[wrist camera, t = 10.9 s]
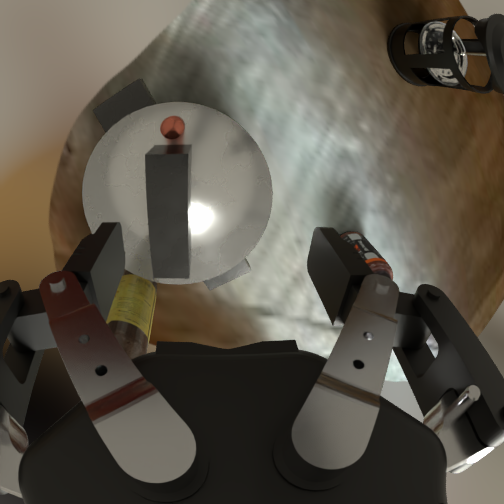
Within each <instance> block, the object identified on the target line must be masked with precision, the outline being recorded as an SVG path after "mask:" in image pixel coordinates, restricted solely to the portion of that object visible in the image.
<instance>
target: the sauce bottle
mask: <svg viewBox="0 0 504 504" xmlns="http://www.w3.org/2000/svg"><path fill="white" fill-rule="evenodd" d="M156 290H157V283H156V282H154V281H151V280H148V279H144V278H142V277H140V276H137V275H135V274H133V273H131V272H129V271H128V270H124V273H123V275H122V278H121V281H120V283H119V286H118V289H117V292H116V294H115V297H114V300H113V303H112V306H111V309H110V312H109V315H108V318H107V321H106V323H107V325H108V326H109V328H110V329H111V331H112V333H113V334H114V336H115V337H116V339H117V340H118V342H119V343H120V345H121V346H122V348H123V349H124V351H125V352H126V354H127V355H128V356H129V358H130V359H131V360H132V359H134V358H136V357H138V356H141V355H144V354H146V352H147V348H148V345H149V338H150V332H151V325H152V319H153V313H154V307H155V301H156Z"/></svg>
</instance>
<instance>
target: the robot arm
mask: <svg viewBox="0 0 504 504" xmlns="http://www.w3.org/2000/svg"><path fill="white" fill-rule="evenodd" d="M307 269H308V273H309V275H310V277H311V280H312V282H313V284H314V286H315V288H316V290H317V292H318V294H319V297H320V299H321V301H322V303H323V305H324V307H325V309H326V312H327V314H328V316H329V318H330V320H331V323H332V325H333V326H338V325H344V326H343V329H342V331H341V333H340V335H339V337H338V339H337V342H336V344H335V346H334V348H333V350H332V352H331V354H330V356H329V358H328V359H326V358H324V357H322V356H319V355H317V354H314V353H311V352H308V351H303V350H298V347H297V344H296V341H295V340H283V341H262V342H258V343H254V344H250V345H246V346H241V347H237V348H233V349H222V348H217V347H212V346H207V345H202V344H197V343H192V342H161V341H157V346H156V352H151V353H148V354H144V355H141V356H138V357H136V358H134V359H132V360H131V359H130V358H129V356H128V355H127V354H126V352H125V351H124V349H123V348H122V346H121V345H120V343H119V342H118V340H117V339H116V337H115V336H114V334H113V333H112V331H111V329H110V328H109V326H108V325H107V323H106V321H107V318H108V315H109V312H110V309H111V306H112V303H113V300H114V297H115V294H116V292H117V289H118V286H119V283H120V281H121V278H122V275H123V273H124V270H125V251H124V243H123V235H122V227H121V224H120V222H102V223H101V225H100V226H99V227H98V229H97V230H96V232H95V233H94V234H90V235H88V236H87V237H85V238H84V239H83V240H82V241H81V242H80V244H79V245H78V246H77V249H75V251H74V252H73V254H72V256H71V257H70V259H69V260H68V262H67V263H66V265H65V266H64V268H63V270H62V271H57V272H54V273H51V274H49V275H47V276H46V277H45V278H44V279H43V280H42V281H41V283H40V285H39V289H35V290H29V291H23V292H22V291H21V288H20V285H19V283H18V282H17V281H14V280H6V281H3V282H0V495H3V494H6V493H11V494H13V495H16V496H19V497H21V498H23V500H24V503H25V504H447V497H446V473H447V472H448V471H449V472H451V473H460V472H462V471H464V470H465V469H467V468H468V467H470V466H471V465H473V464H474V463H476V462H477V461H479V460H480V459H482V458H483V457H484V456H486V455H487V454H488V453H490V452H491V451H492V450H494V449H495V448H496V447H498V446H499V445H500V444H501V443H503V442H504V378H503V377H502V375H501V373H500V372H499V370H498V368H497V367H496V365H495V364H494V362H493V360H492V359H491V358H490V356H489V354H488V353H487V351H486V350H485V348H484V347H483V346H482V344H481V342H480V341H479V339H478V338H477V336H476V335H475V334H474V332H473V331H472V329H471V328H470V327H469V325H468V324H467V322H466V321H465V320H464V318H463V317H462V316H461V314H460V313H459V311H458V310H457V309H456V308H455V306H454V305H453V304H452V302H451V301H450V300H449V298H448V297H447V296H446V295H445V293H444V292H443V291H441V290H440V289H438V288H437V287H435V286H432V285H428V284H422V285H420V286H419V287H418V289H417V291H416V293H415V295H414V294H408V293H403V292H399V288H398V286H397V284H396V283H395V282H394V281H392V280H391V279H389V278H388V277H385V276H383V275H379V274H374V272H373V271H372V270H371V268H370V267H369V266H368V264H367V263H366V262H365V260H364V259H363V258H362V256H361V255H360V254H358V251H357V250H356V249H355V247H354V246H353V245H352V244H350V243H349V242H347V241H346V240H344V239H342V238H341V237H340V235H339V234H338V233H337V232H336V230H335V229H334V228H326V227H316V228H315V230H314V232H313V237H312V241H311V246H310V251H309V255H308V260H307ZM431 333H432V335H433V336H434V338H435V340H436V341H437V343H438V347H439V351H438V355H437V357H436V358H435V357H434V356H433V354H432V352H431V350H430V349H429V347H428V345H427V343H426V341H427V340H428V338H429V336H430V335H431ZM7 337H8V339H9V341H10V345H9V347H8V349H7V352H6V354H5V357H4V359H3V354H2V349H3V345H4V343H5V341H6V338H7ZM55 347H58V349H59V352H60V354H61V357H62V359H63V361H64V364H65V366H66V368H67V371H68V373H69V375H70V377H71V379H72V381H73V384H74V386H75V387H76V390H77V392H78V394H79V396H80V398H81V401H80V402H79V403H78V404H77V405H76V406H74V407H73V408H72V409H71V410H70V411H69V412H67V413H66V414H65V415H64V416H63V417H62V418H61V419H59V420H58V421H57V422H56V423H55V424H54V425H52V426H51V427H50V428H49V429H48V430H47V431H45V432H44V433H43V434H42V435H41V436H40V437H38V439H36V440H35V441H34V442H33V443H32V444H31V445H30V446H29V447H28V437H27V434H26V432H25V430H24V428H23V424H24V419H25V415H26V411H27V407H28V403H29V399H30V395H31V391H32V388H33V385H34V381H35V378H36V374H37V371H38V368H39V365H40V362H41V359H42V356H43V353H44V350H45V349H48V348H55ZM392 349H393V351H394V353H395V355H396V357H397V359H398V361H399V363H400V365H401V367H402V369H403V372H404V374H405V376H406V378H407V380H408V382H409V384H410V387H411V389H412V391H413V393H414V396H415V398H416V400H417V402H418V405H419V407H420V409H421V411H422V414H423V416H424V421H423V423H421V422H420V421H418V420H417V419H415V418H414V417H412V416H411V415H409V414H407V413H406V412H404V411H403V410H401V409H400V408H398V407H397V406H395V405H394V404H392V403H391V402H389V401H388V400H386V399H385V398H383V397H382V396H380V393H381V390H382V387H383V383H384V379H385V376H386V372H387V368H388V364H389V360H390V356H391V352H392Z"/></svg>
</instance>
